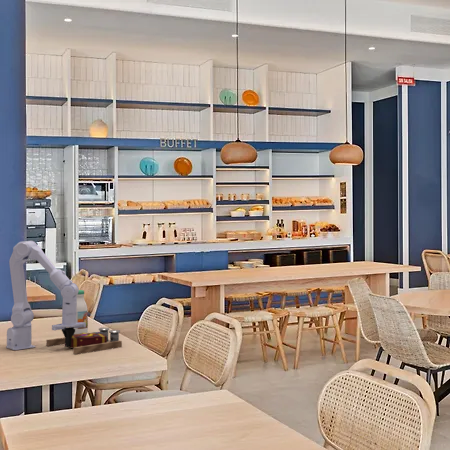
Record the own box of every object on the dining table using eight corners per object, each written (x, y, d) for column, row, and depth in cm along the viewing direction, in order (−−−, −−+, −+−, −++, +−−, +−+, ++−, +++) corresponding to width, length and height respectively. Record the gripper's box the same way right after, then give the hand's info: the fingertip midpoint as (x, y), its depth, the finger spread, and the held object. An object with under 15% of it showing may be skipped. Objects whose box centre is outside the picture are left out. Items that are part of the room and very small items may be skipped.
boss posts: (113, 345, 284) (113, 332, 284) (96, 341, 293) (96, 328, 293) (122, 344, 287) (122, 330, 287) (105, 339, 297) (105, 327, 297)
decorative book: (107, 346, 282) (107, 335, 282) (68, 350, 275) (68, 337, 275) (100, 342, 292) (100, 330, 292) (63, 344, 286) (63, 333, 285)
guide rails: (75, 354, 266) (75, 348, 266) (46, 345, 283) (46, 339, 283) (121, 347, 281) (121, 341, 281) (91, 339, 298) (91, 333, 298)
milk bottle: (71, 335, 306) (71, 291, 306) (70, 332, 314) (70, 289, 313) (88, 334, 308) (88, 291, 308) (87, 331, 316) (87, 289, 316)
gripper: (58, 315, 269) (57, 349, 269) (90, 313, 279) (89, 345, 279) (49, 313, 274) (48, 347, 274) (81, 311, 284) (80, 343, 284)
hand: (68, 346), depth 277 cm, fingers closed, pressing on decorative book
